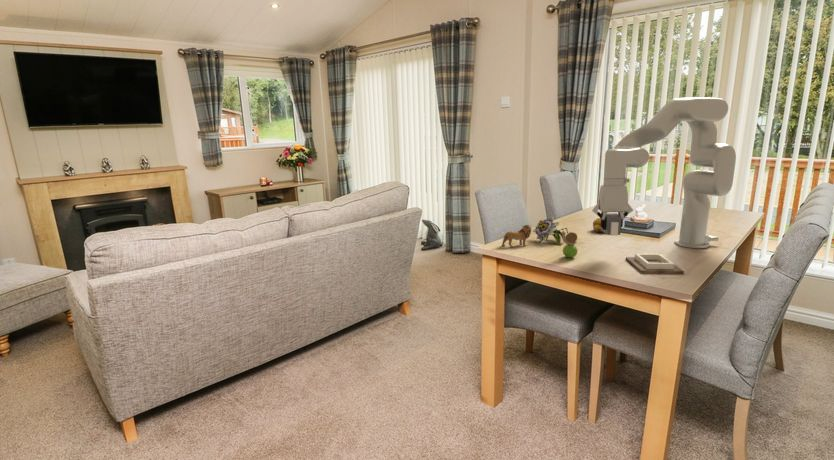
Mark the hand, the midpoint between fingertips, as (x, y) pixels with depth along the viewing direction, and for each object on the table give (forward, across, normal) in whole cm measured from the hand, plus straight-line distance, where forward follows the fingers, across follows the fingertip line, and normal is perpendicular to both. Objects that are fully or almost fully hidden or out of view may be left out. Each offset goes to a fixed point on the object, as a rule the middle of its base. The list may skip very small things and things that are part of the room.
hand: (611, 228), depth 170 cm
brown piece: (+12, -12, +10) cm, 20 cm away
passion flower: (+12, +19, -25) cm, 33 cm away
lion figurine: (+12, +34, -17) cm, 40 cm away
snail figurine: (+12, +16, 0) cm, 20 cm away
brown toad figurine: (+13, -10, -44) cm, 47 cm away
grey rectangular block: (+2, 0, 0) cm, 2 cm away
